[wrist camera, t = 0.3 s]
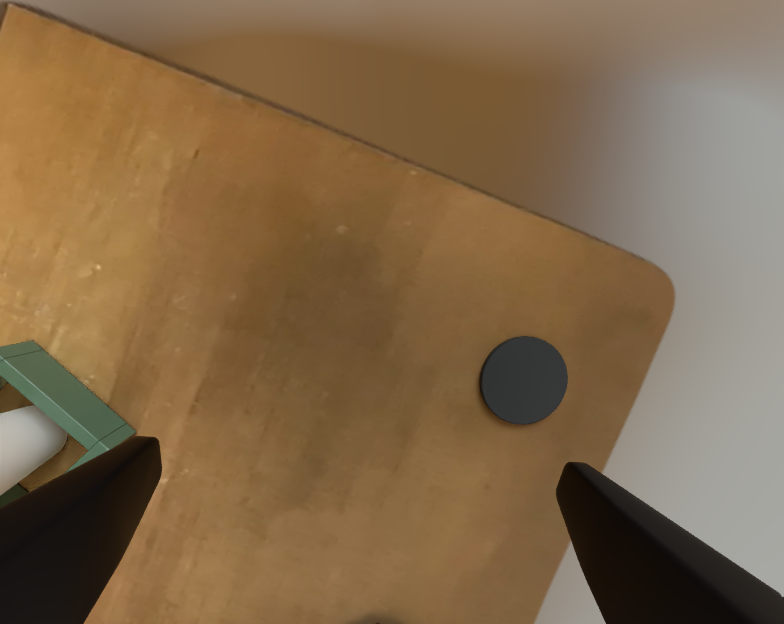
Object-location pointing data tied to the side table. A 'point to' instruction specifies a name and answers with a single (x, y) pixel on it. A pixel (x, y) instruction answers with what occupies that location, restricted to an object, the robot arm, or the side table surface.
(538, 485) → the side table surface
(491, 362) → the coaster
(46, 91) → the side table surface
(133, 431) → the holder
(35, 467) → the cup
